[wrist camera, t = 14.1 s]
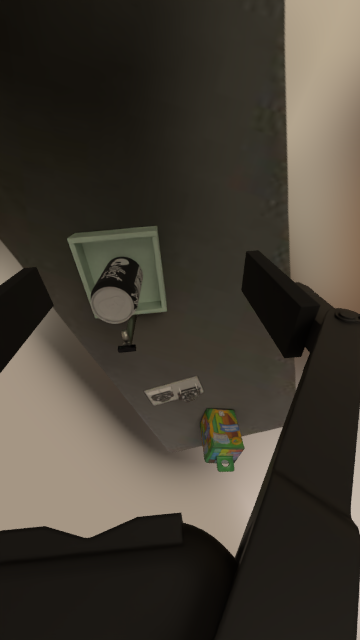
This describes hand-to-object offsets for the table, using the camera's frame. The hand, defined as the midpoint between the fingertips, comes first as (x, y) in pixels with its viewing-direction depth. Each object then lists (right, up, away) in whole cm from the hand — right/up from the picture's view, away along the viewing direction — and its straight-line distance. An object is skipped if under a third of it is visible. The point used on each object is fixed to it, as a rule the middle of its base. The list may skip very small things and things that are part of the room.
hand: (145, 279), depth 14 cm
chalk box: (+14, -33, +55) cm, 66 cm away
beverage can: (-8, +6, +25) cm, 27 cm away
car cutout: (+1, -22, +46) cm, 51 cm away
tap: (-7, -1, +31) cm, 31 cm away
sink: (-8, +6, +26) cm, 28 cm away
